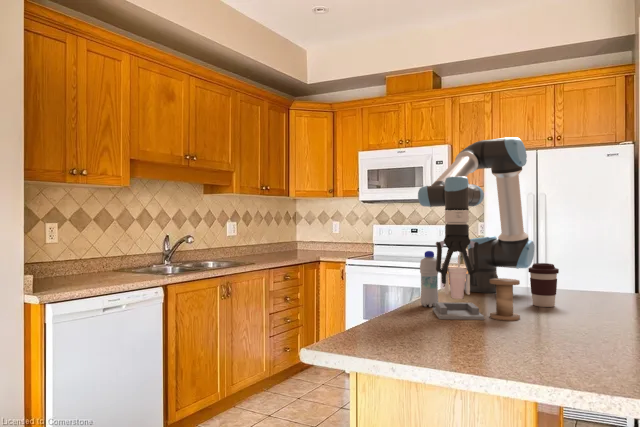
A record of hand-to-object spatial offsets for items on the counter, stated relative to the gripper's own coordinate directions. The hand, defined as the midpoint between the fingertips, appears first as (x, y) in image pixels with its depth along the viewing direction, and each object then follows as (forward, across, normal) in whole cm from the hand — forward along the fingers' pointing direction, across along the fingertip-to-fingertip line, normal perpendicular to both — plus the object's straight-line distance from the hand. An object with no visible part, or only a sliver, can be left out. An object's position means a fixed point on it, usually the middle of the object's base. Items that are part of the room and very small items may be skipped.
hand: (457, 293), depth 161 cm
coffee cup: (+7, +34, +18) cm, 39 cm away
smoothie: (+2, 0, 0) cm, 2 cm away
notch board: (+7, 0, 0) cm, 7 cm away
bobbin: (+7, +14, -4) cm, 16 cm away
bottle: (+7, -7, +15) cm, 18 cm away
